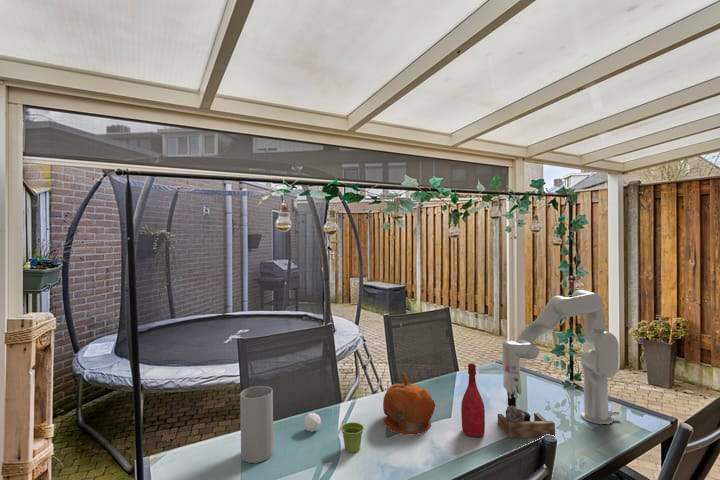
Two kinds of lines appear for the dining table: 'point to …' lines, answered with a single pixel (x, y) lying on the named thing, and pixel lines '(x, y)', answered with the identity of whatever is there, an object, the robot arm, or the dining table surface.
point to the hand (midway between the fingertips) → (511, 406)
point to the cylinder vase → (256, 424)
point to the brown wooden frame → (527, 427)
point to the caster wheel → (516, 414)
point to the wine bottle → (472, 407)
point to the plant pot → (352, 436)
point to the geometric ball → (312, 422)
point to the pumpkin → (408, 408)
